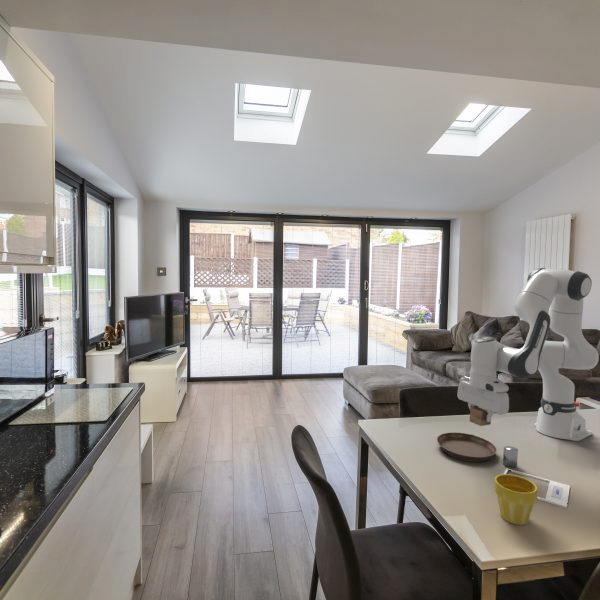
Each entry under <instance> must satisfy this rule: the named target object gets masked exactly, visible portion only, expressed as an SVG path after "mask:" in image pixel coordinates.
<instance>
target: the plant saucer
mask: <svg viewBox="0 0 600 600" xmlns="http://www.w3.org/2000/svg"><path fill="white" fill-rule="evenodd" d="M436 441H437V442H436V443H437V444H438V445H439V447H440V448H441V450H442V451H444V452H445V453H446V454H447V455H448V456H451V457H453V458H456V459H459V460H462V461H465V462H466V461H467V462H477V463H479V462H484V461H485V462H486V461H487V460H490V459H491V458H493V457H494V456H495V455H496V453H497V452H498V451H497V450H498V448H497V447H496V445H494V444H493V443H492V442H491V441H489V440H487V439H485V438H484V437H480V436H477V435H473V434H470V433H464V432H446V433H442V434H439V435H438V436H437V437H436Z"/></svg>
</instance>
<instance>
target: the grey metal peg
mask: <svg viewBox="0 0 600 600" xmlns="http://www.w3.org/2000/svg"><path fill="white" fill-rule="evenodd" d="M518 455H519V448H516V447H514V446H512V445H511V446H510V445H505V446H503V453H502V457H503V458H502V465H503V466H504V467H505V468H508V469H517V468H518V459H519V457H518Z"/></svg>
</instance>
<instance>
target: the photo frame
mask: <svg viewBox="0 0 600 600" xmlns="http://www.w3.org/2000/svg"><path fill="white" fill-rule="evenodd" d="M510 470H511V471H510ZM508 471H510V472H511V473H514V472H515V474H518V475H522V476H525V477H529V478H533V479H536V480H540V481H543V482H545V483H546V482H547V483H548V486H547V492H546V495H545V498H543V497H540V496H537V501H538V500H539V501H542V502H544V503H548V504H550V505H551V504H552V505H554V506H558V507H561V508H564V509H568V504H567V503H568V502H569V495H570V490H571V489H570V488H571V485H569V484H564V483H563V482H559V481H555V480H551V479H546V478H543V477H541V476H536V475H533V474H529V473H526V472H522V471H519V470H515V469H513V468H508V467H505V469H504V472H503V474H508Z"/></svg>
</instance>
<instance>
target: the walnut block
mask: <svg viewBox="0 0 600 600" xmlns="http://www.w3.org/2000/svg"><path fill="white" fill-rule="evenodd" d="M487 415H488V413H487V410H486V409H484V408H481V407H478V406H474V408H470V409H469V422H470V423H473V424H474V425H478V426H479V427H482V426H489V425H491V423H492V421H491V422H486V421H485V420H484V419H485V418H484V417H485V416H487Z"/></svg>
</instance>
